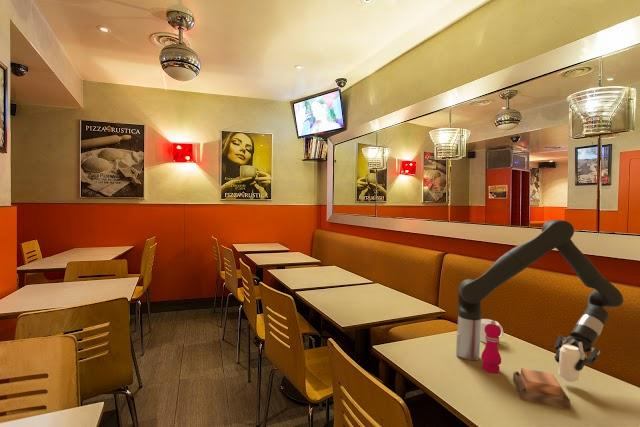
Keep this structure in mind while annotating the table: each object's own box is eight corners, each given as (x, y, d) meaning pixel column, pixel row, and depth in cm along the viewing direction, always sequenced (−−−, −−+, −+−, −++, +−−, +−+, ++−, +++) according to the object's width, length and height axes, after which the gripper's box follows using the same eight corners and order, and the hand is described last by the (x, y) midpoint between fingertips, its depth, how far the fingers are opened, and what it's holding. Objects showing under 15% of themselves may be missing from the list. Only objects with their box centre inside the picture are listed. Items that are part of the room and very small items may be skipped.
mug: (480, 343, 165) (481, 324, 165) (475, 336, 174) (476, 318, 174) (507, 345, 164) (508, 326, 163) (500, 338, 173) (501, 320, 172)
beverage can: (556, 378, 128) (559, 346, 127) (559, 372, 132) (561, 342, 132) (577, 384, 123) (579, 352, 123) (579, 378, 128) (581, 347, 128)
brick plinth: (520, 399, 117) (521, 382, 117) (513, 380, 130) (513, 364, 130) (569, 409, 112) (570, 391, 112) (556, 388, 126) (557, 372, 125)
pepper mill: (499, 367, 141) (501, 319, 140) (502, 375, 134) (505, 324, 133) (479, 364, 143) (482, 316, 142) (481, 371, 136) (484, 321, 136)
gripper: (563, 317, 137) (542, 351, 132) (606, 330, 124) (584, 368, 119) (570, 329, 139) (550, 362, 135) (612, 343, 126) (592, 380, 122)
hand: (566, 365), depth 127 cm, fingers closed on beverage can, 6 cm apart
